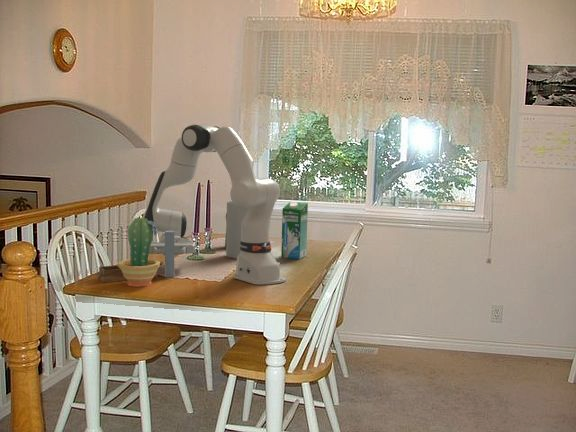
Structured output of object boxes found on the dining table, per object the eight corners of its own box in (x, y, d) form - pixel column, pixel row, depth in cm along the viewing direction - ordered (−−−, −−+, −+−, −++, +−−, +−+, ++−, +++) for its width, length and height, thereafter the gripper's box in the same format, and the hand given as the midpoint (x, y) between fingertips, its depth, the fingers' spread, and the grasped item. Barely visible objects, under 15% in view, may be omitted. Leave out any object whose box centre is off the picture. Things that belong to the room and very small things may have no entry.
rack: (156, 277, 260) (156, 265, 259) (103, 282, 249) (102, 270, 249) (150, 273, 266) (150, 262, 265) (98, 278, 255) (97, 266, 255)
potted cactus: (148, 290, 239) (148, 221, 236) (110, 286, 243) (109, 219, 240) (167, 281, 254) (167, 216, 251) (131, 277, 258) (130, 213, 255)
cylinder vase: (246, 260, 297) (247, 204, 293) (221, 257, 301) (221, 202, 298) (257, 255, 308) (258, 202, 305) (233, 253, 313) (234, 200, 309)
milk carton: (281, 257, 305) (282, 203, 302) (288, 254, 314) (289, 201, 310) (299, 259, 302) (300, 204, 298) (306, 255, 310) (307, 202, 307)
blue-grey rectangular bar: (174, 275, 264) (174, 230, 261) (174, 277, 260) (174, 232, 258) (164, 275, 263) (164, 230, 261) (164, 277, 260) (164, 232, 257)
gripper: (144, 238, 274) (142, 244, 261) (194, 237, 278) (195, 243, 264) (144, 253, 275) (143, 259, 262) (194, 252, 279) (195, 259, 265)
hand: (169, 251), depth 263 cm, fingers open, 8 cm apart
